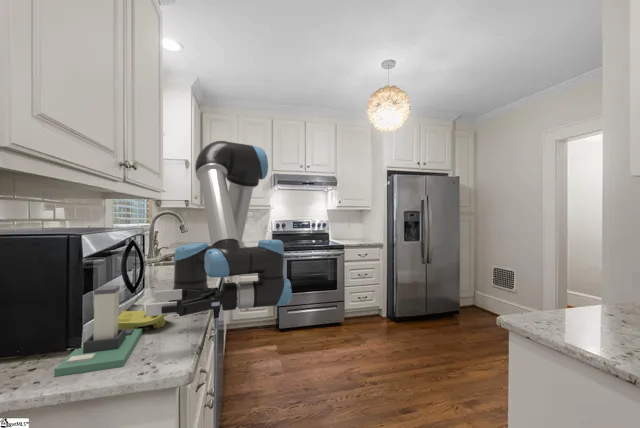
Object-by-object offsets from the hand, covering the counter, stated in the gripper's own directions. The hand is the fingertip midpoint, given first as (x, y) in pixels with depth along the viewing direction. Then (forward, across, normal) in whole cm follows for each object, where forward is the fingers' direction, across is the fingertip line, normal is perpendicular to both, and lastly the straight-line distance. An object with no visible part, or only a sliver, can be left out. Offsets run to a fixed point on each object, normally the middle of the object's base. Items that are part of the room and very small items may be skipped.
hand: (151, 302), depth 75 cm
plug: (+10, 0, -10) cm, 14 cm away
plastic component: (+6, +17, -12) cm, 21 cm away
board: (+10, 0, -11) cm, 15 cm away
